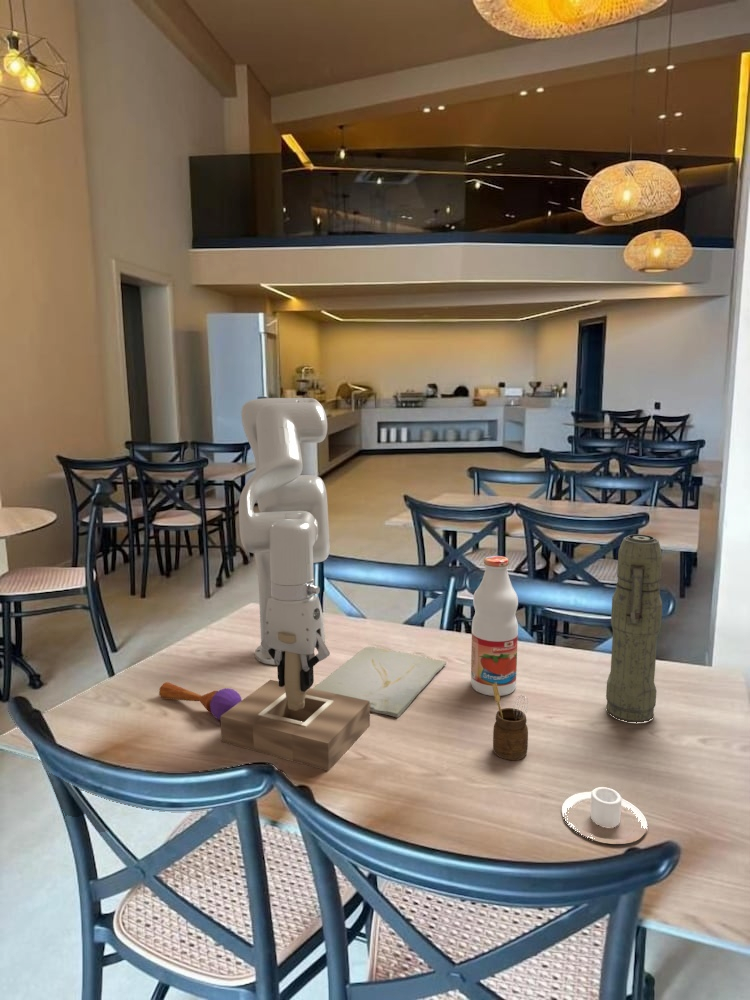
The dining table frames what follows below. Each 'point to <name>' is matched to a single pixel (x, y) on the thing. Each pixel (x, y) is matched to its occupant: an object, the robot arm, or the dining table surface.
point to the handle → (292, 675)
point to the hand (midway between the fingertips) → (295, 685)
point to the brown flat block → (296, 725)
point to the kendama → (203, 698)
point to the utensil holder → (510, 731)
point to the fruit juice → (494, 630)
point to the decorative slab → (382, 678)
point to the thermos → (635, 630)
